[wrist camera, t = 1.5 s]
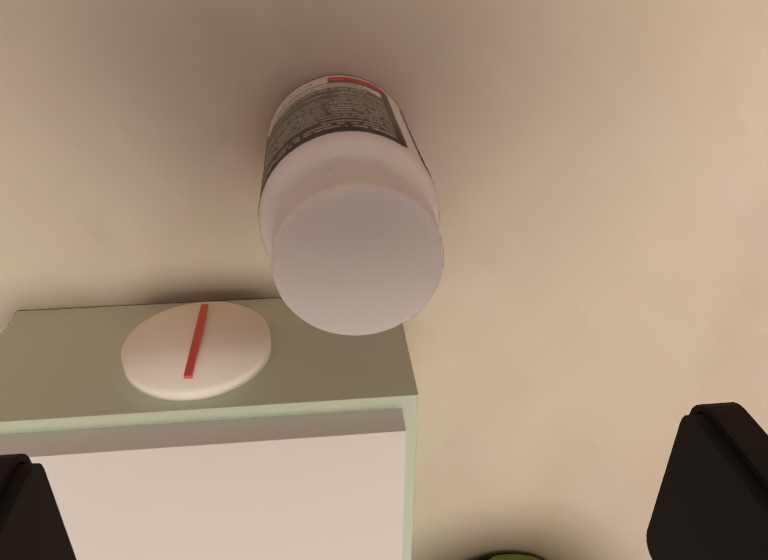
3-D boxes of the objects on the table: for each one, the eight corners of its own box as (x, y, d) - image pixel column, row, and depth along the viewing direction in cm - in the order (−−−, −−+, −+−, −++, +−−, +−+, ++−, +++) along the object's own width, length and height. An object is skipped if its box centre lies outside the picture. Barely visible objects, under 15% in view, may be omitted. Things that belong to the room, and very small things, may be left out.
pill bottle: (237, 144, 22) (205, 270, 15) (338, 40, 20) (357, 123, 13) (339, 232, 24) (354, 381, 17) (437, 143, 22) (498, 263, 15)
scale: (12, 295, 24) (-87, 433, 18) (395, 277, 25) (424, 400, 19) (100, 554, 31) (51, 712, 25) (391, 530, 32) (410, 675, 27)
